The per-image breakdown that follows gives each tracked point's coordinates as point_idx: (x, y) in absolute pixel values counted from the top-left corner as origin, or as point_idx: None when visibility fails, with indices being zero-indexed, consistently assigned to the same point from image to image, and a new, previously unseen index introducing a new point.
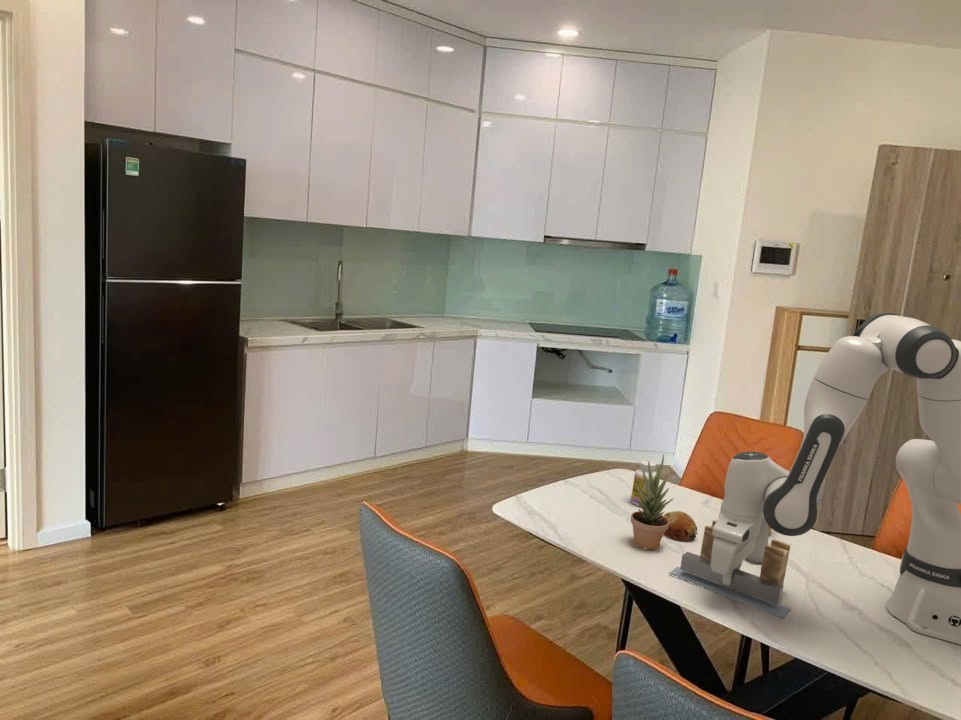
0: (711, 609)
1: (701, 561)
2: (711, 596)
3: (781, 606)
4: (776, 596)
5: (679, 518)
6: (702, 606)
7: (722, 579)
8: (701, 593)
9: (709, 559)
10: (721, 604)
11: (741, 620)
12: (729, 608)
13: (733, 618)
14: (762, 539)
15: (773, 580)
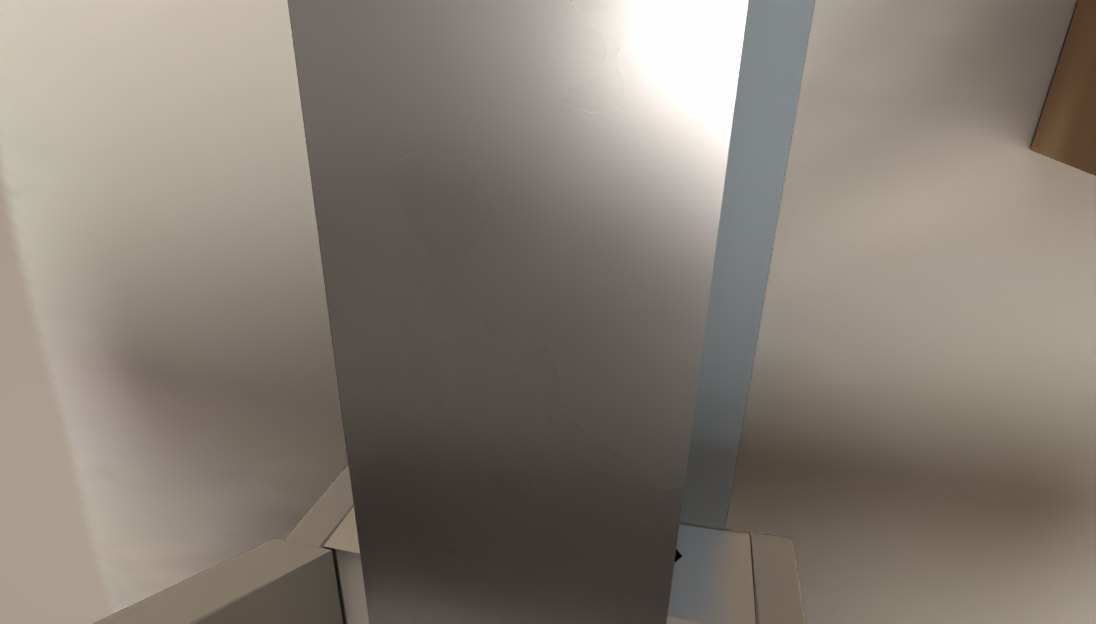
0: (82, 352)
1: (328, 6)
2: (321, 289)
3: None
4: None
5: None
6: (46, 268)
7: (323, 493)
8: (284, 169)
9: (724, 170)
10: (254, 410)
11: (163, 575)
12: (252, 481)
13: (132, 524)
14: None
15: None
